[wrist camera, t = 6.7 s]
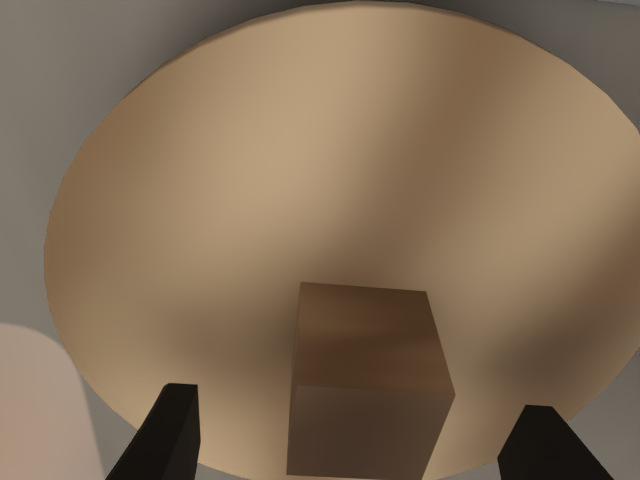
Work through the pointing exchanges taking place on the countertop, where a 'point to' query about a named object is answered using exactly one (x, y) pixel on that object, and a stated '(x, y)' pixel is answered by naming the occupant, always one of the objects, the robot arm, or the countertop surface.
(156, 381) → the lid
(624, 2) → the mat
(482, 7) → the countertop surface
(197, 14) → the countertop surface
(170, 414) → the robot arm
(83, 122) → the countertop surface
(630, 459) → the countertop surface
